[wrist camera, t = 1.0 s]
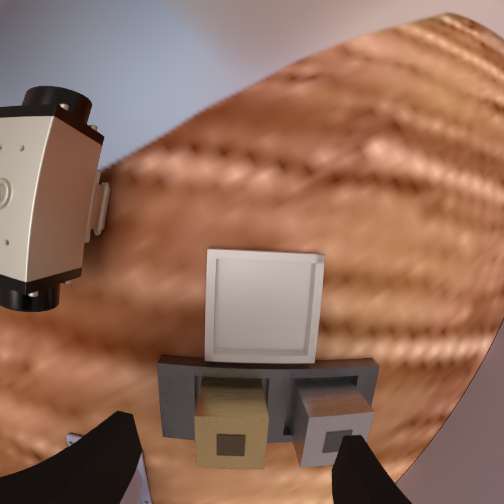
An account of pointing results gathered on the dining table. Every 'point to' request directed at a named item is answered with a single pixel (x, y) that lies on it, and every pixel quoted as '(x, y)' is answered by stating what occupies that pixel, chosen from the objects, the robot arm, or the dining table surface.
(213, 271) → the tray
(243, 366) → the rail
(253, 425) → the tan rectangular block
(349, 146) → the dining table surface
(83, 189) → the pneumatic valve
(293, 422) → the grey rectangular block
